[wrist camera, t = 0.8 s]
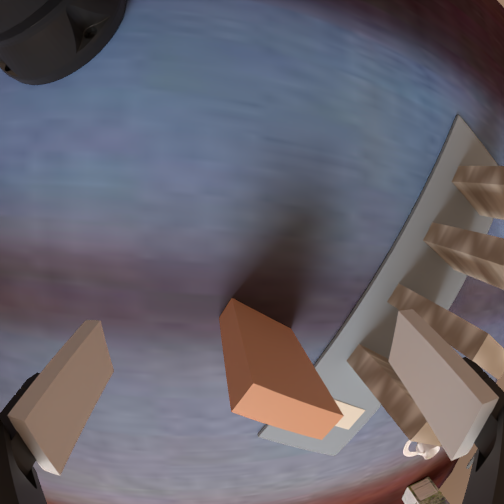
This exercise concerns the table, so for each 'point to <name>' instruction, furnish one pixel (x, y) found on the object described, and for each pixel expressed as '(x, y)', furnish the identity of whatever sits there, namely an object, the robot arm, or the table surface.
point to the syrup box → (423, 493)
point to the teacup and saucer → (422, 450)
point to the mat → (384, 283)
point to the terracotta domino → (273, 374)
